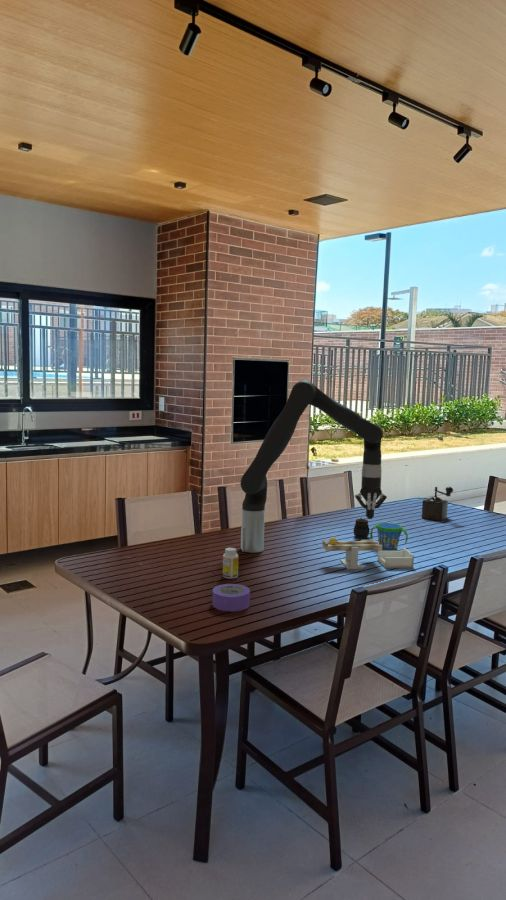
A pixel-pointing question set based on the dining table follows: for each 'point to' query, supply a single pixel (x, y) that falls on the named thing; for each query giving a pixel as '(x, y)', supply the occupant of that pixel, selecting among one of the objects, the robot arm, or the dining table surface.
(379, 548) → the lever
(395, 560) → the tray
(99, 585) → the dining table surface
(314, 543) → the dining table surface
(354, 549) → the stand
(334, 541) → the ball
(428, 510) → the brown manual coffee grinder
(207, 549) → the dining table surface
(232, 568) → the supplement bottle
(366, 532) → the mate gourd
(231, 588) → the tape roll
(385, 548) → the snack cup
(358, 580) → the dining table surface
